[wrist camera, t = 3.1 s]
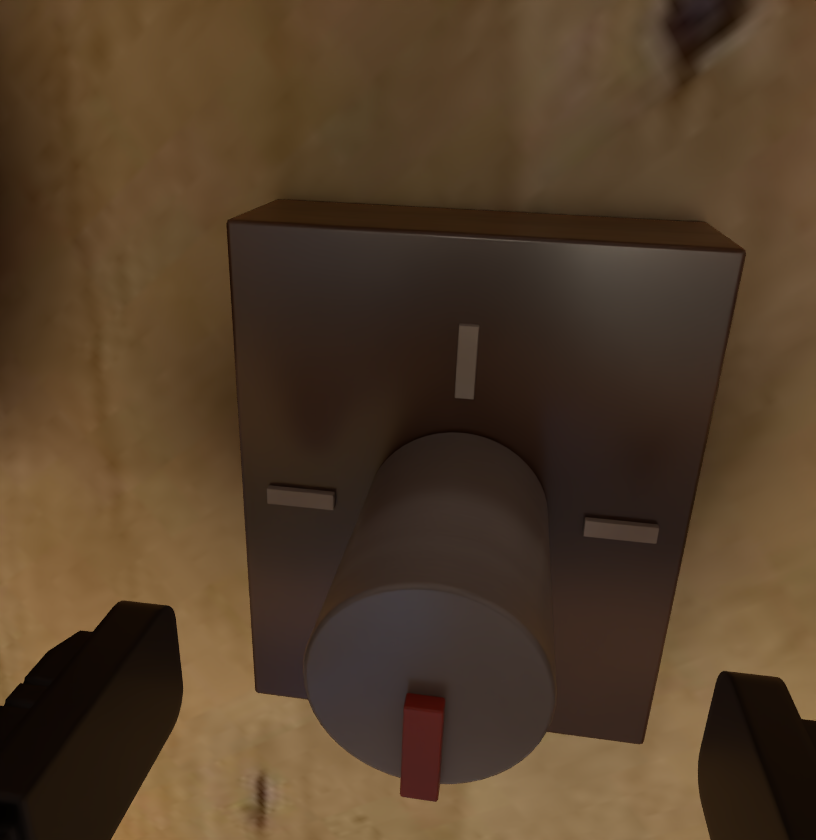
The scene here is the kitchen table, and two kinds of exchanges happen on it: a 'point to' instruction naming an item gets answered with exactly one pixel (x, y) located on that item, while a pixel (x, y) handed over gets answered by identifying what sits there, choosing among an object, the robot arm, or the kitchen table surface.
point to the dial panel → (482, 407)
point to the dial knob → (440, 619)
